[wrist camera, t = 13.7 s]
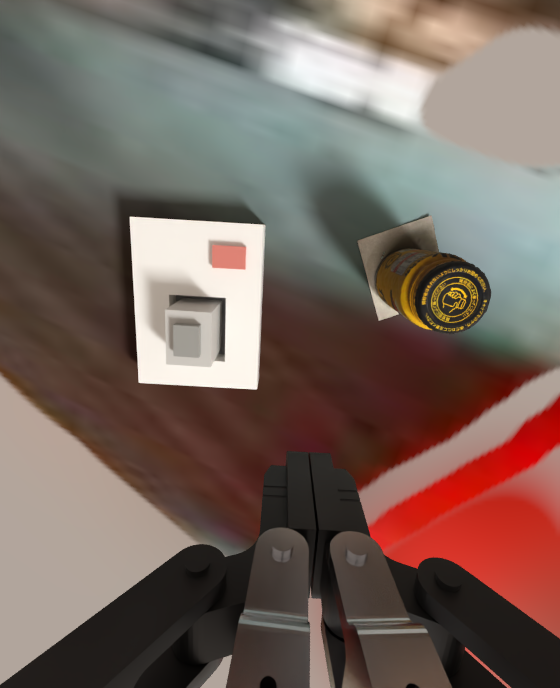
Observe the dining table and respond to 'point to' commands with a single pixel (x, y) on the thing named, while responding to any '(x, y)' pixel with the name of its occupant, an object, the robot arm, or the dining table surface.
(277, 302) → the dining table surface
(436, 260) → the condiment
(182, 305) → the plug
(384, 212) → the dining table surface
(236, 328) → the socket plate
